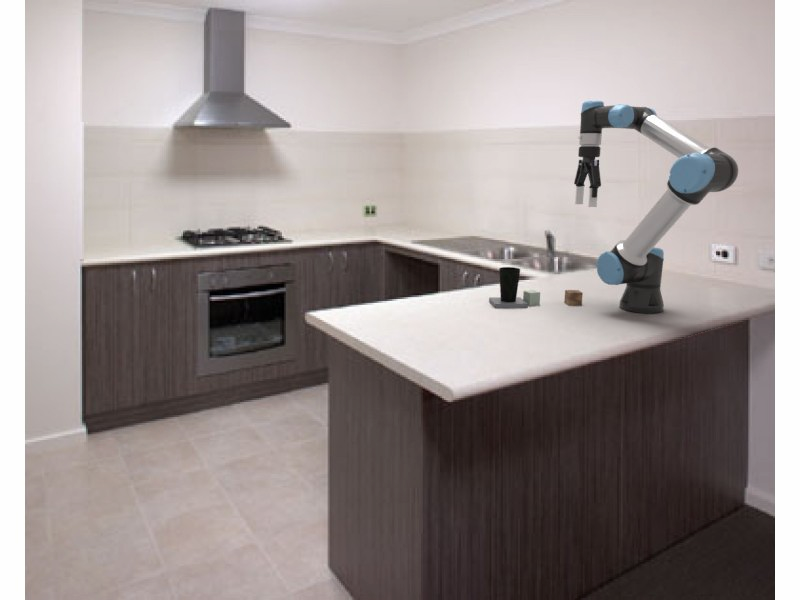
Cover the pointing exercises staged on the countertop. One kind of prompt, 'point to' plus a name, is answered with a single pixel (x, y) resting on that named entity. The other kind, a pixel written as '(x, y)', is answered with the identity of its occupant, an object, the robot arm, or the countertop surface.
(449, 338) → the countertop surface
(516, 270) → the cup
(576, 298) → the walnut block
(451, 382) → the countertop surface
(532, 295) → the sage block
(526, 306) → the plate
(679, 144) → the robot arm
